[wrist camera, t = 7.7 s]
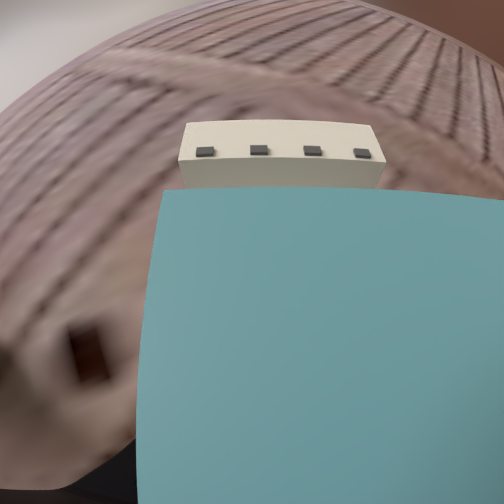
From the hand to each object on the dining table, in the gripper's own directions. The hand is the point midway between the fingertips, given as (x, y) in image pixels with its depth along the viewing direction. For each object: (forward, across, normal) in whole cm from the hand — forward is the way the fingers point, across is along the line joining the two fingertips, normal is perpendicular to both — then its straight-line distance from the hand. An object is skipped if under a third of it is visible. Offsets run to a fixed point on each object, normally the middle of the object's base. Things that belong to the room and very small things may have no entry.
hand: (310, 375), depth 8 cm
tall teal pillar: (+4, 0, +5) cm, 7 cm away
